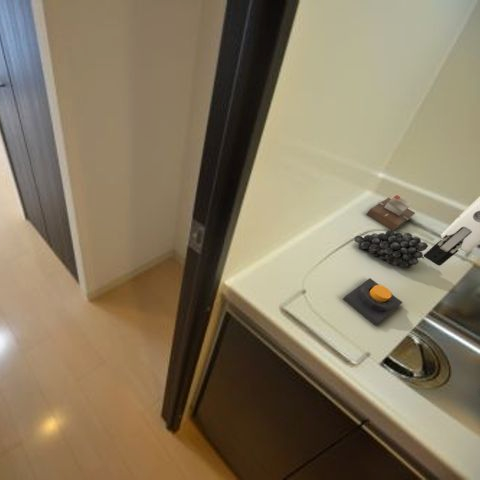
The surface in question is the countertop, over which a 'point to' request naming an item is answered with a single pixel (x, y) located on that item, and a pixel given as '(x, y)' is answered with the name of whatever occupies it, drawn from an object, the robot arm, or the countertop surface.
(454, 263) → the countertop surface
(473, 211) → the robot arm
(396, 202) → the lock knob
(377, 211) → the lock plate
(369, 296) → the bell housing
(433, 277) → the countertop surface
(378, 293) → the bell button
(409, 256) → the fruit
